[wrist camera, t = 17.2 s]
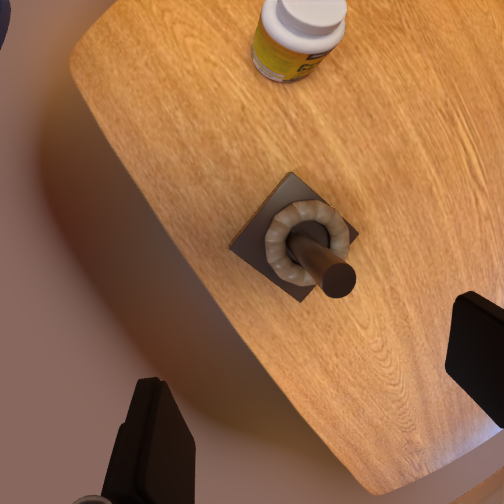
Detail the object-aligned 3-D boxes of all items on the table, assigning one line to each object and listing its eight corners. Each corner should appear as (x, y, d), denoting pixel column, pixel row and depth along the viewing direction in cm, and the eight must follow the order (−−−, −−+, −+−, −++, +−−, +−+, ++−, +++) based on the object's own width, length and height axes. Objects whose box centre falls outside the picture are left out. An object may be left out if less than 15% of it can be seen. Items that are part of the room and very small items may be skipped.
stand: (228, 245, 26) (231, 296, 16) (288, 171, 25) (334, 171, 14) (297, 298, 28) (337, 367, 17) (354, 230, 27) (425, 266, 16)
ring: (247, 233, 25) (248, 237, 24) (316, 182, 25) (322, 183, 23) (294, 297, 27) (298, 304, 25) (358, 249, 26) (366, 254, 25)
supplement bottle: (287, 96, 24) (325, 55, 14) (237, 57, 22) (245, -3, 13) (326, 57, 23) (375, 8, 13) (278, 19, 22) (305, -44, 12)
